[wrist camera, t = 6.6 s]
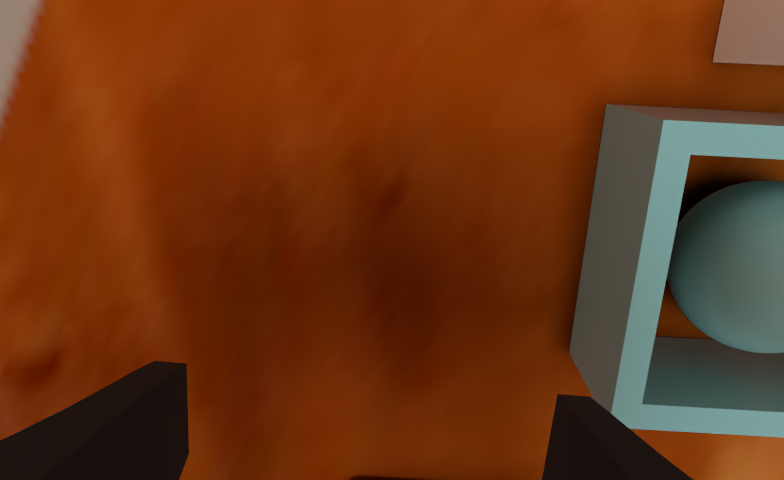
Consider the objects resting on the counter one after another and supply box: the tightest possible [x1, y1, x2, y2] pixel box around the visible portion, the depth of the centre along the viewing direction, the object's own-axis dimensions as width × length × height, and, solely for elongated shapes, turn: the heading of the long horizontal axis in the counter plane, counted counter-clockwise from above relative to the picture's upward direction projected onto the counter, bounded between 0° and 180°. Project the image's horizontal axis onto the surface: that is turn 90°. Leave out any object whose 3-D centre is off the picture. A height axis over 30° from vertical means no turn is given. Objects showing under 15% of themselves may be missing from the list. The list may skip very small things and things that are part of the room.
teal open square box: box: [569, 104, 784, 437], centre depth 18 cm, size 9×9×4 cm
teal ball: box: [667, 181, 784, 353], centre depth 18 cm, size 5×5×5 cm
